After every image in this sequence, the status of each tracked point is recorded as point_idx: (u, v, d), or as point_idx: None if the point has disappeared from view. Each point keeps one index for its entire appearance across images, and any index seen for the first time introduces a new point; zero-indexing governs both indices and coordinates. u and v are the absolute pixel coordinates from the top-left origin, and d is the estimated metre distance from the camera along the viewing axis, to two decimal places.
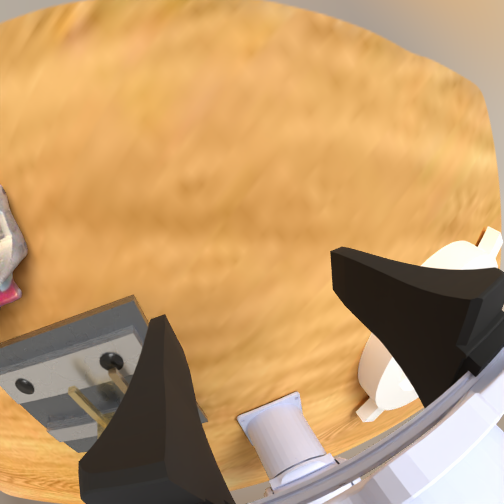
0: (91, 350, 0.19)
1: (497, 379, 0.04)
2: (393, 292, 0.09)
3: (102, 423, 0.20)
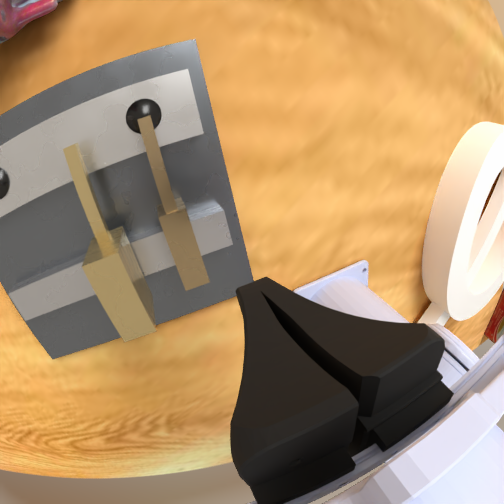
0: (120, 93, 0.13)
1: (497, 379, 0.04)
2: (301, 339, 0.08)
3: (99, 231, 0.14)
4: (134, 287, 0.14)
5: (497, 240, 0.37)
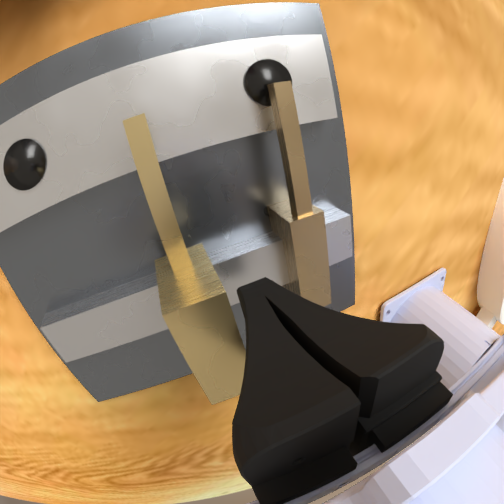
0: (238, 46, 0.09)
1: (497, 379, 0.04)
2: (300, 339, 0.08)
3: (177, 254, 0.10)
4: (240, 338, 0.10)
5: None
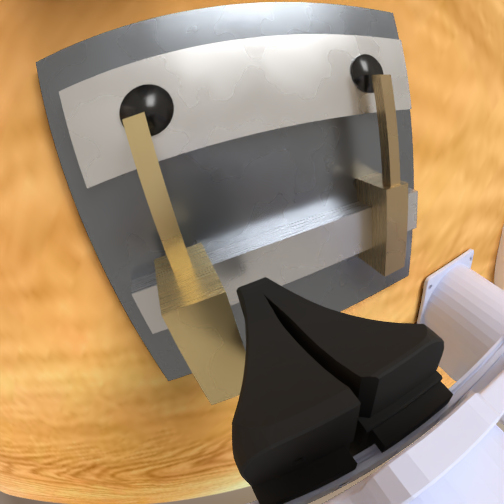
0: (346, 40, 0.10)
1: (497, 379, 0.04)
2: (300, 339, 0.08)
3: (177, 253, 0.10)
4: (240, 338, 0.10)
5: None
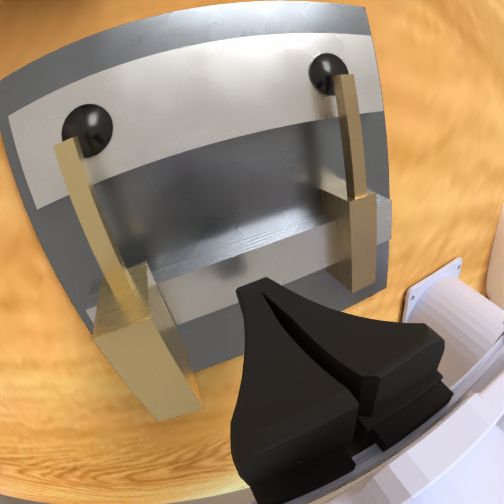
0: (304, 38, 0.10)
1: (497, 379, 0.04)
2: (301, 339, 0.08)
3: (115, 275, 0.09)
4: (175, 361, 0.09)
5: None
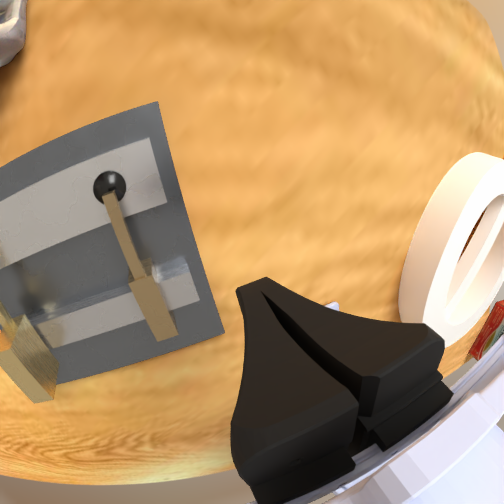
0: (86, 165, 0.14)
1: (497, 379, 0.04)
2: (300, 339, 0.08)
3: (4, 323, 0.14)
4: (28, 370, 0.14)
5: (482, 267, 0.38)
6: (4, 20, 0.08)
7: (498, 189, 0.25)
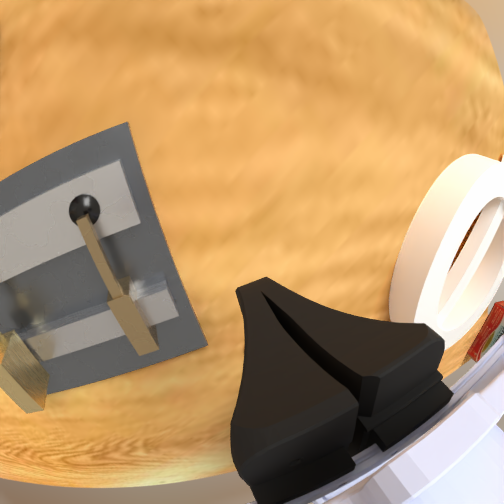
0: (61, 189, 0.14)
1: (497, 379, 0.04)
2: (301, 339, 0.08)
3: None
4: (19, 384, 0.14)
5: (479, 270, 0.38)
6: None
7: (493, 192, 0.25)
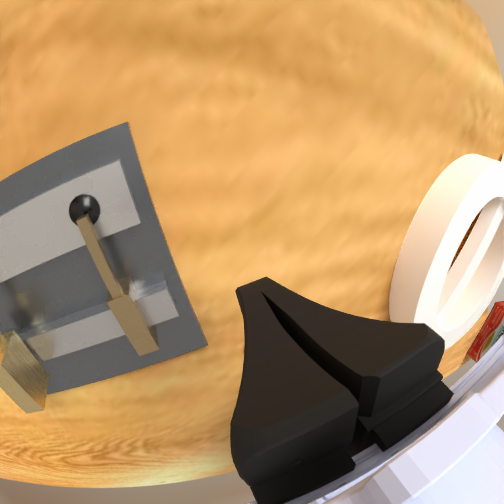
0: (61, 189, 0.14)
1: (497, 379, 0.04)
2: (301, 339, 0.08)
3: None
4: (19, 384, 0.14)
5: (479, 270, 0.38)
6: None
7: (493, 192, 0.25)
